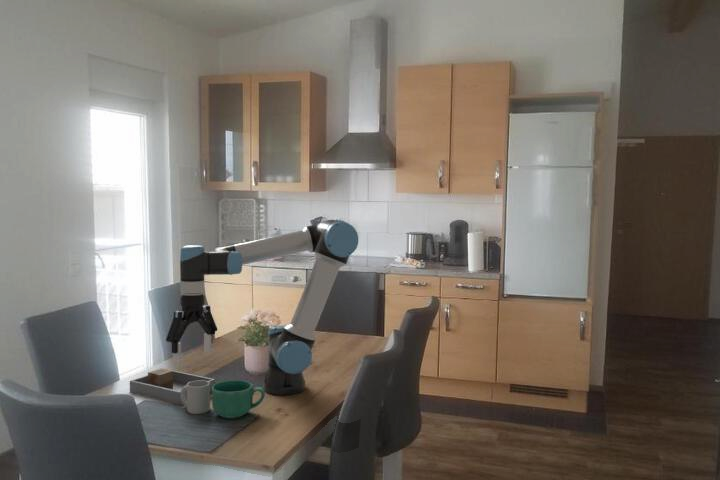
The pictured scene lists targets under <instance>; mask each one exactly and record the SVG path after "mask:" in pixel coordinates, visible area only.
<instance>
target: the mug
mask: <svg viewBox="0 0 720 480" xmlns="http://www.w3.org/2000/svg"><path fill="white" fill-rule="evenodd" d="M256 392H260V394H261V396H260V398H259V399H258V400H257V401H255V402H254V403H253V399H254V397H253V396H254V394H255V393H256ZM265 393H266V392H265V391H264V389H263V387H260V386H257V387H254V388H253V384H252V383H251V382H249V381H246V380H243V379H242V380H239V379H231V380H230V379H229V380H223V381H219V382H215V385H213V387H212V392H211V401H212V402H211V403H212V405H211V406H212V408H213V411H214V412H215V414H217V415H218V416H221V417H222V418H223V419H237V418H240V417H243V416H244V415H246V414H247V413H249V411H250V410H252V409H254V408H257V407H258V406H259V405H261V403H263V401H264V399H265V396H266V394H265Z"/></svg>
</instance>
